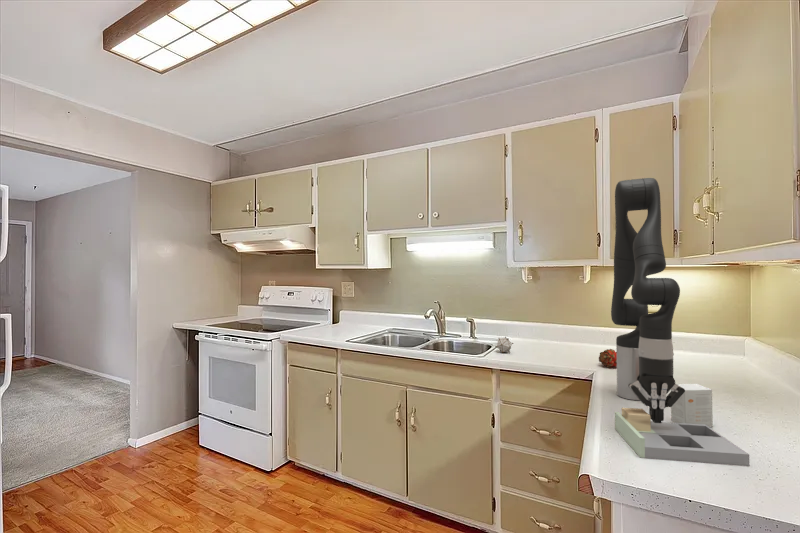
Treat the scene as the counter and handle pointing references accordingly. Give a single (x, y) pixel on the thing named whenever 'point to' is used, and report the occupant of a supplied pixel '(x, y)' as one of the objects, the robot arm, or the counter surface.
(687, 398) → the small box
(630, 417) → the block
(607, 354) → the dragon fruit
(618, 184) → the robot arm
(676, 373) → the counter surface
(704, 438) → the grey slotted tray
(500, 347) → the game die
